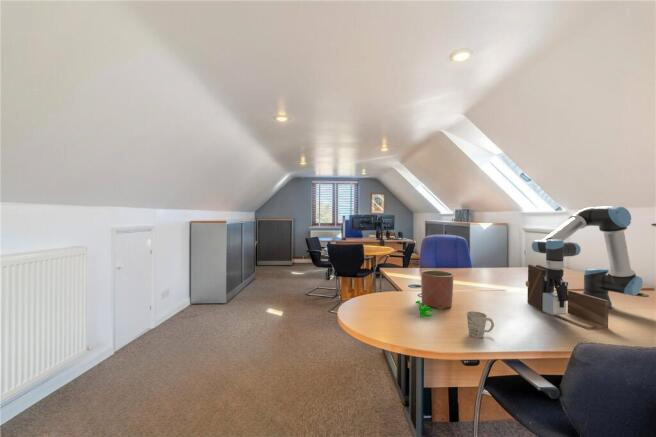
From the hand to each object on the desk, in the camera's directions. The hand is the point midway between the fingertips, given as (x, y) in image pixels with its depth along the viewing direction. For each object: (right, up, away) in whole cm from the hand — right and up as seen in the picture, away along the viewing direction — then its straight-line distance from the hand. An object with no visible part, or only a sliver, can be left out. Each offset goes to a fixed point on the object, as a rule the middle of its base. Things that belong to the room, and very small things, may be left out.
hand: (554, 310), depth 157 cm
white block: (0, -1, 0) cm, 1 cm away
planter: (-54, -5, +26) cm, 60 cm away
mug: (-51, -5, -20) cm, 55 cm away
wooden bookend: (+13, -6, -1) cm, 14 cm away
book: (+9, -5, +23) cm, 25 cm away
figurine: (-69, -5, +5) cm, 69 cm away
